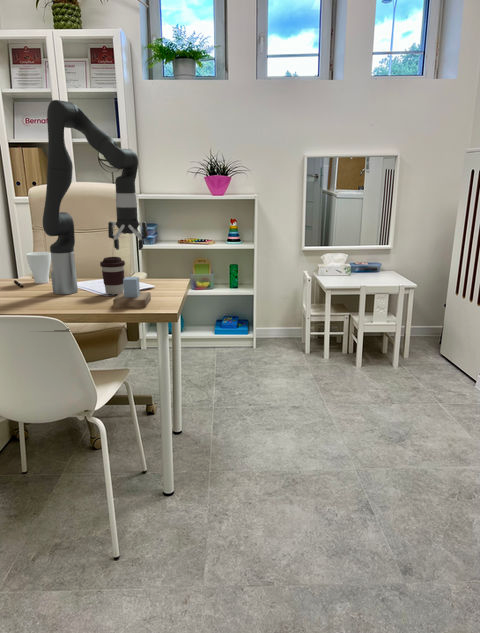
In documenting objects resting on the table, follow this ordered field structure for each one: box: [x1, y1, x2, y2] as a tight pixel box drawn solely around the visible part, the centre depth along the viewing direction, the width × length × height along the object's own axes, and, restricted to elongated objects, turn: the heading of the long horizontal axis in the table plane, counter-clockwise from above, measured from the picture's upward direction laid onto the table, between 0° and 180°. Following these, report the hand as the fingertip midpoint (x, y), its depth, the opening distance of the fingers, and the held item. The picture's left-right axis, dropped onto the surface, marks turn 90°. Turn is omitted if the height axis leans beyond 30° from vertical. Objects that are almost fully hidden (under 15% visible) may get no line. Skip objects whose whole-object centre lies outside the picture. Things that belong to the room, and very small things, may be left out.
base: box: [112, 291, 152, 309], centre depth 186 cm, size 12×12×3 cm
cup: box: [25, 251, 52, 285], centre depth 221 cm, size 10×10×14 cm
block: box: [123, 276, 141, 298], centre depth 184 cm, size 5×5×7 cm
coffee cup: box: [99, 256, 126, 295], centre depth 200 cm, size 10×10×15 cm
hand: (129, 249), depth 182 cm, fingers open, 8 cm apart
